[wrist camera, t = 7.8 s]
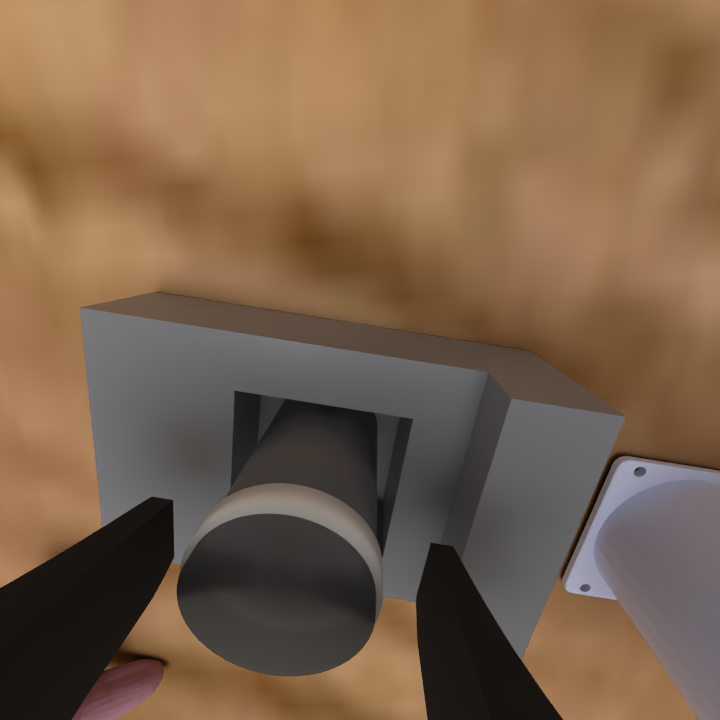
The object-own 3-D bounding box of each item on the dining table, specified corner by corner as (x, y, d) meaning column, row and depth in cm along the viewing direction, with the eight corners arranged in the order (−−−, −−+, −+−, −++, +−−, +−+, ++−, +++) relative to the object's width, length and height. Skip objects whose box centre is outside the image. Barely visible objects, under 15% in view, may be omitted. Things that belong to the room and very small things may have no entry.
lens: (388, 385, 15) (397, 538, 7) (373, 480, 16) (368, 692, 8) (276, 371, 15) (164, 507, 7) (271, 467, 16) (175, 665, 8)
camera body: (531, 351, 15) (626, 416, 9) (472, 537, 18) (515, 672, 12) (156, 292, 15) (18, 320, 9) (162, 487, 18) (62, 599, 12)
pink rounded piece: (105, 524, 21) (-73, 627, 15) (151, 558, 19) (-35, 693, 13) (130, 640, 24) (-9, 762, 18) (172, 680, 22) (29, 834, 16)
